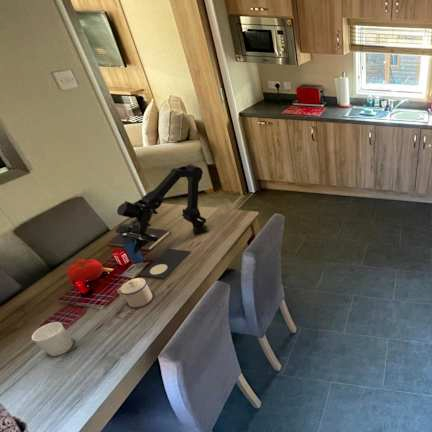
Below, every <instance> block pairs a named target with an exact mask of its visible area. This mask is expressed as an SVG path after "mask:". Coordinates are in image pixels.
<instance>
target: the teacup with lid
mask: <svg viewBox="0 0 432 432" xmlns="http://www.w3.org/2000/svg"><path fill="white" fill-rule="evenodd" d="M117 293H118V294H119V296H122V297H123V298H124V299H125V301H126V303H127V304H128V306H129V307H131V308H140V307H144V306H146V304H148V303H150V302H151V301H152V299H153V294H152V291H151V289H150V287H149V286H148V284H147V280H146V279H144V278H142V277H137V278H131V279H130V280H127V281H125V282H124V283H123V284H122V285H121V286H120V287H119V288H118V289H117Z"/></svg>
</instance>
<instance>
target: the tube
mask: <svg viewBox="0 0 432 432" xmlns="http://www.w3.org/2000/svg"><path fill="white" fill-rule="evenodd" d="M121 243H122V244H123V246H124V247H123V248H124V251H125V250H126V251H125V252H126V254H127V255H128V257H129V259H130V262H131V264H132V265H138V264H141V263H143V262H144V261H145V257H144V255H143V253H142V251H141V249H140V250H139V251H138V252H137V253H134V248H135V245H136V241H135V238H134V237H132V236H130V237H126V238H124V239H122V240H121Z"/></svg>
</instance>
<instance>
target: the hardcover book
mask: <svg viewBox="0 0 432 432" xmlns="http://www.w3.org/2000/svg"><path fill="white" fill-rule="evenodd" d="M146 232H147V234H151V235H155V236H157V237H158V239H157V242H155V241H151V242H148V243H147V244H146V245H145V246H143V247H142V248H141V249H140V250H143V251H151V250H153V249H154V248H155V247H157V246H158V244H160V243H161V242H162V241H163V240H164V239H165V238H167V237H168V236H169V235H170V234H171V230H170V229H162V228H154V227H147V230H146ZM121 235H122V233H121V234H120V233H117V235H116V236H114V237H113V238H111V239H110V240H109V241H107V244H109V245H108V246H110V247H118V248H124V246H123V244H122V243H121V240H122V239H124V238H123V237H122V236H121ZM133 237H136V238H137V239H139V238H140V237H138V236H134V235H133ZM135 241H136V239H135Z"/></svg>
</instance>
